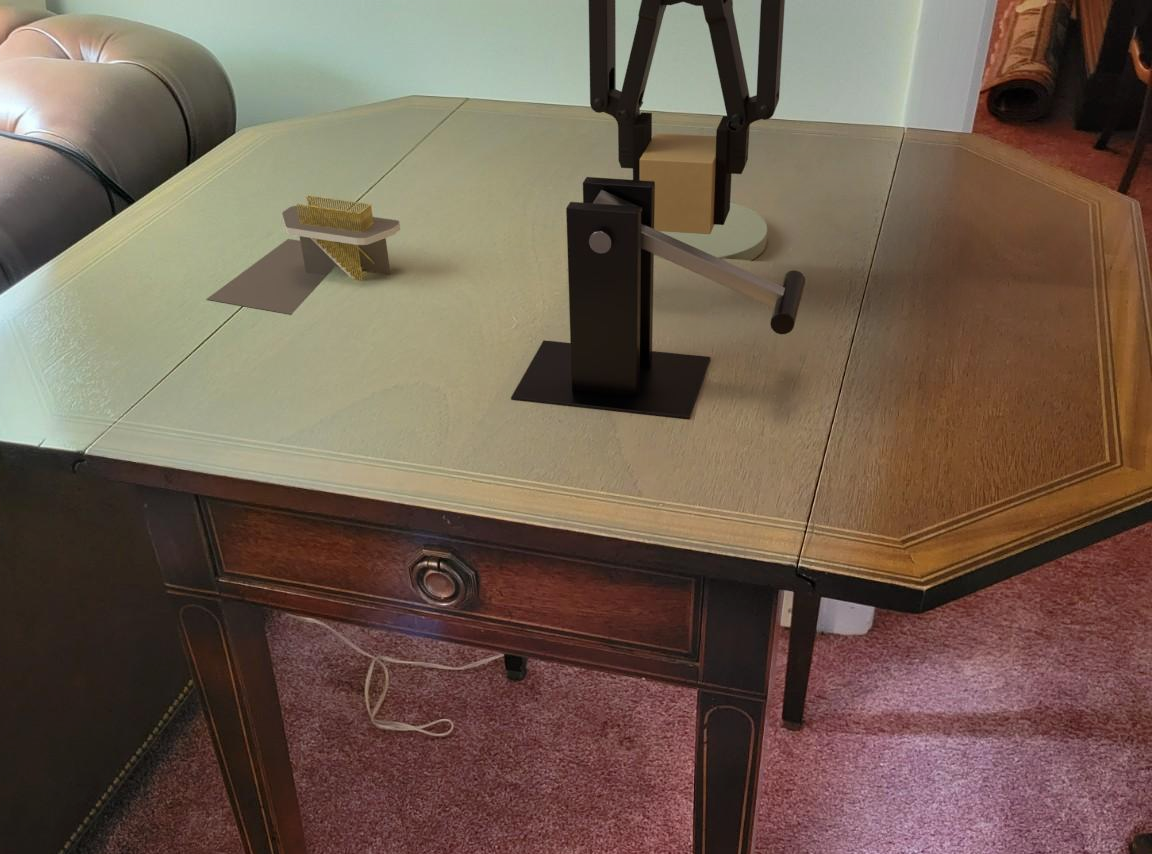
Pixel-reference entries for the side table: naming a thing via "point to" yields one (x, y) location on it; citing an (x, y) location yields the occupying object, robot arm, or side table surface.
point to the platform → (313, 255)
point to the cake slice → (681, 181)
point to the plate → (731, 236)
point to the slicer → (612, 317)
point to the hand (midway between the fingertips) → (681, 213)
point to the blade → (724, 271)
